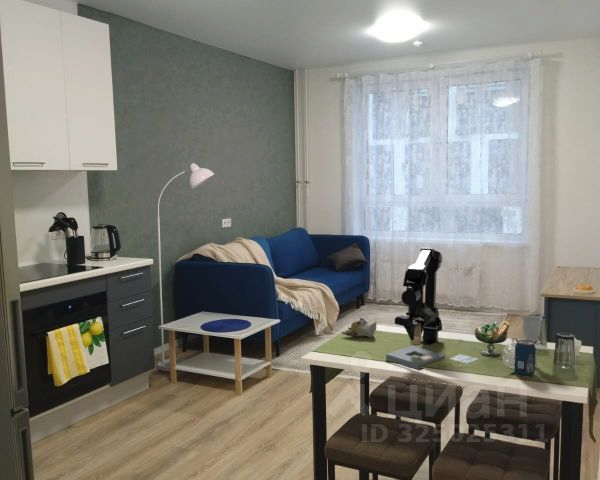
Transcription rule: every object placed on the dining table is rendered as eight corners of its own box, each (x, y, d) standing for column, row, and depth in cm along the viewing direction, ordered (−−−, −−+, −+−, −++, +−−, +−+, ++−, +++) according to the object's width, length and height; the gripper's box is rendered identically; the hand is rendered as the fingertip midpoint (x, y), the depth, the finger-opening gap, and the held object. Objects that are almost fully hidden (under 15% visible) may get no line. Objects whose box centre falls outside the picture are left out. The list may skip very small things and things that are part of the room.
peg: (414, 341, 224) (414, 322, 223) (423, 344, 221) (423, 324, 220) (408, 343, 221) (408, 324, 220) (416, 346, 218) (416, 326, 217)
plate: (461, 357, 224) (461, 354, 224) (478, 362, 218) (478, 358, 218) (449, 362, 219) (449, 358, 219) (466, 367, 213) (467, 363, 213)
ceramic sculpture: (373, 321, 248) (340, 320, 253) (374, 340, 248) (341, 339, 254) (379, 315, 257) (347, 315, 263) (380, 334, 258) (348, 333, 264)
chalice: (541, 362, 217) (543, 316, 215) (540, 368, 211) (542, 320, 209) (520, 360, 220) (522, 314, 218) (519, 365, 214) (521, 319, 212)
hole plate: (412, 351, 233) (412, 345, 233) (444, 361, 221) (444, 354, 220) (386, 360, 223) (386, 353, 222) (418, 370, 210) (418, 363, 210)
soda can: (519, 369, 210) (520, 338, 209) (538, 374, 205) (539, 341, 204) (510, 374, 205) (511, 342, 204) (529, 379, 200) (530, 346, 199)
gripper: (417, 307, 207) (416, 348, 209) (447, 299, 219) (447, 338, 221) (393, 302, 215) (393, 342, 217) (424, 294, 227) (424, 332, 229)
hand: (415, 339), depth 221 cm, fingers closed on peg, 4 cm apart
